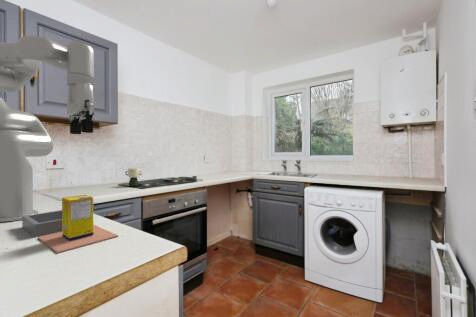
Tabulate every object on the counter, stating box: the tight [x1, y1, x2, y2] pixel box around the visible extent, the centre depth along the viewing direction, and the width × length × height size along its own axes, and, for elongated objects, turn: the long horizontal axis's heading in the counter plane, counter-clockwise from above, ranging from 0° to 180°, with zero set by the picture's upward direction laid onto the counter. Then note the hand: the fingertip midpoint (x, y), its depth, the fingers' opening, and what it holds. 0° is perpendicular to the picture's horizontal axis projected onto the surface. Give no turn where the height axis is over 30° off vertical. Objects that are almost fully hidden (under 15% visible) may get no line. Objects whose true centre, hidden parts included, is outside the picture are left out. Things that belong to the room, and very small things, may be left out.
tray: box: [21, 209, 62, 238], centre depth 74 cm, size 14×14×4 cm
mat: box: [37, 224, 119, 254], centre depth 64 cm, size 16×14×1 cm
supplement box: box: [61, 194, 94, 241], centre depth 64 cm, size 6×6×11 cm
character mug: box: [125, 167, 143, 187], centre depth 167 cm, size 11×7×13 cm, turn 107°
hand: (81, 133), depth 77 cm, fingers open, 9 cm apart
